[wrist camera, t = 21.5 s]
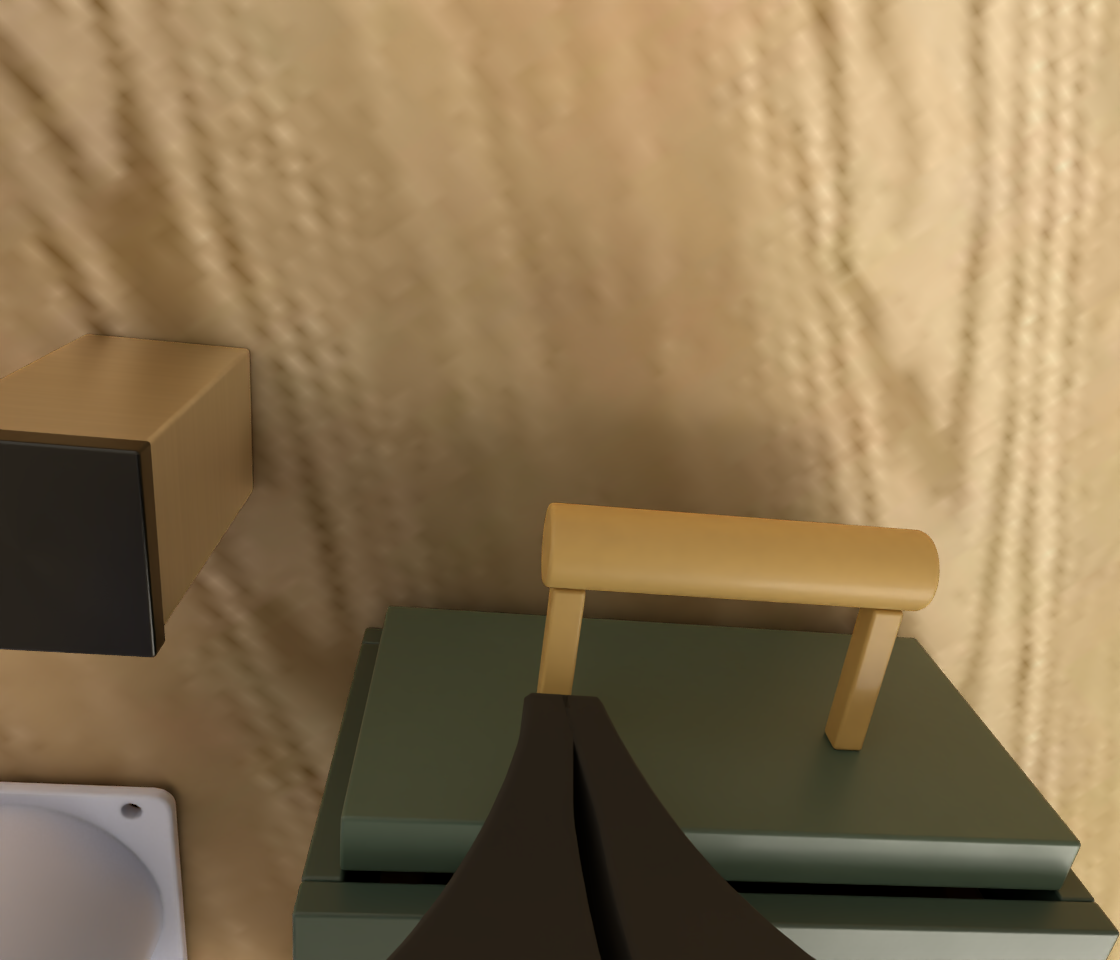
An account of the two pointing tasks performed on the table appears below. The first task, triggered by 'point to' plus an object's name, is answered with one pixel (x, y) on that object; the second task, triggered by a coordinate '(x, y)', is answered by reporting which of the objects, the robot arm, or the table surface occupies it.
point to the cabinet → (808, 920)
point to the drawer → (712, 715)
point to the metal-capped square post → (116, 488)
